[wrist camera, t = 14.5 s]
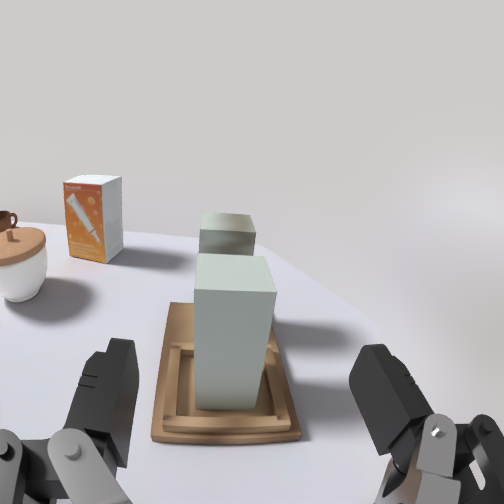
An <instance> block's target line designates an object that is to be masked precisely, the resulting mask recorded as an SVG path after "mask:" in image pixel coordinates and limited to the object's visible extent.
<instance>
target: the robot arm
mask: <svg viewBox="0 0 504 504" xmlns="http://www.w3.org/2000/svg"><path fill="white" fill-rule="evenodd" d="M349 386H350V389H351V391H352V394H353V396H354V398H355V400H356V403H357V405H358V407H359V410H360V412H361V414H362V416H363V419H364V421H365V423H366V426H367V428H368V430H369V433H370V435H371V438H372V440H373V442H374V445H375V447H376V449H377V452H378V454H379V456H380V455H384V454H388V453H391V455H392V458H391V459H390V460H389V463H388V466H387V469H386V472H385V475H384V478H383V481H382V484H381V486H380V489H379V492H378V495H377V497H376V500H375V502H374V503H373V504H504V436H503V434H502V433H501V431H500V429H499V427H498V426H497V424H496V423H495V421H494V420H493V419H492V418H491V417H489V416H487V415H483V414H481V415H477V416H476V417H475V418H474V419H473V420H472V422H470V424H454V423H453V421H452V420H451V419H450V418H448V417H447V416H445V415H442V414H435V413H434V412H433V410H432V409H431V407H430V405H429V404H428V402H427V400H426V399H425V397H424V395H423V394H422V392H421V390H420V389H419V387H418V385H416V384H415V381H414V379H413V377H412V376H410V373H409V371H408V370H407V368H406V366H405V365H404V364H403V363H402V362H401V361H400V360H399V359H397V358H396V357H395V356H392V355H391V353H390V352H389V350H388V349H387V347H386V346H385V345H384V344H373V345H365V346H363V347H362V349H361V351H360V353H359V355H358V357H357V360H356V362H355V364H354V366H353V368H352V370H351V372H350V375H349ZM138 388H139V369H138V363H137V356H136V350H135V343H134V341H133V340H126V339H118V338H111V340H110V342H109V345H108V348H107V351H106V353H105V352H98V351H96V352H95V353H94V354H93V355H92V356H91V357H90V358H89V359H88V360H87V361H86V364H85V366H84V369H83V372H82V376H81V377H80V380H79V383H78V387H77V389H76V392H75V395H74V398H73V401H72V404H71V407H70V410H69V413H68V417H67V420H66V423H65V425H64V427H63V429H62V430H60V431H58V432H56V433H55V434H54V435H53V436H52V437H51V438H49V439H43V440H20V439H19V438H18V437H17V436H16V435H15V434H14V433H13V432H11V431H9V430H6V429H0V504H56V501H57V499H70V500H71V502H72V504H133V503H132V502H131V501H130V499H129V498H128V497H127V495H126V494H125V492H124V491H123V490H122V488H121V487H120V485H119V484H118V482H117V481H116V471H117V467H122V468H127V460H128V452H129V445H130V437H131V431H132V424H133V417H134V411H135V405H136V399H137V394H138ZM475 459H476V461H477V463H478V465H479V467H480V469H481V471H482V473H483V476H484V478H485V481H486V483H485V487H484V489H483V490H480V489H479V487H478V484H477V482H476V480H475V478H474V476H473V473H472V471H471V469H470V467H469V464H470V463H471V462H473V461H474V460H475Z"/></svg>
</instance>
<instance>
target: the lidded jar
mask: <svg viewBox="0 0 504 504" xmlns="http://www.w3.org/2000/svg"><path fill="white" fill-rule="evenodd" d="M46 272H47V250H46V238H45V234H44V232H43V231H42V230H40V229H37V228H30V227H23V228H15V229H7V230H6V231H4V232H1V233H0V296H2V297H4V298H6V299H7V300H8V301H10V302H15V303H18V302H24V301H27V300H29V299H31V298H33V297H34V296H35V295H36V294H37V293H38V292H39V290H40V287H41V285H42V283H43V282H44V279H45V277H46Z"/></svg>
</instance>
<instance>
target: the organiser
mask: <svg viewBox="0 0 504 504" xmlns="http://www.w3.org/2000/svg"><path fill="white" fill-rule="evenodd" d="M255 237H256V231H255V228H254V225H253V222H252V220H251V217H250V215H242V214H226V213H209V212H202V216H201V225H200V240H199V253H206V254H226V255H246V256H253V253H254V245H255ZM301 435H302V434H301V430H300V427H299V423H298V419H297V416H296V412H295V408H294V405H293V401H292V397H291V394H290V390H289V387H288V383H287V379H286V376H285V372H284V368H283V365H282V361H281V357H280V354H279V350H278V346H277V343H276V339H275V335H274V332H273V328H272V324H271V328H270V334H269V339H268V344H267V349H266V355H265V360H264V365H263V370H262V375H261V380H260V385H259V390H258V395H257V400H256V405H255V409H242V410H213V409H195V385H194V303H177V302H170V307H169V312H168V317H167V323H166V329H165V335H164V340H163V347H162V353H161V359H160V366H159V372H158V379H157V386H156V394H155V401H154V409H153V418H152V427H151V438H152V441H157V442H169V443H185V444H257V443H273V442H285V441H295V440H299V439H300V437H301Z"/></svg>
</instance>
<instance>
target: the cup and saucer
mask: <svg viewBox="0 0 504 504" xmlns="http://www.w3.org/2000/svg"><path fill="white" fill-rule="evenodd" d="M11 216H14V217H15V222H14V224H12V225H11V218H10V217H11ZM16 224H17V215H16V214H15V213H11V214H10V212H8V211H0V233H1V232H4V231H6V230H7V229H15V228H20V227H16Z"/></svg>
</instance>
